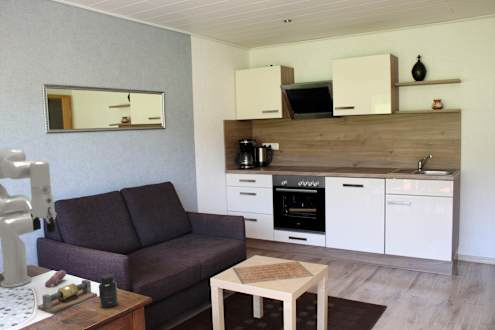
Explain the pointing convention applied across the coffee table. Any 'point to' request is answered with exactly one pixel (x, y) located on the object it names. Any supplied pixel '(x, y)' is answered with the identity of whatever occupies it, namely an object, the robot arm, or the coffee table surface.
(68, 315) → the coffee table surface
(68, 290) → the coupling sleeve
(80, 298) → the shaft bench
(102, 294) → the supplement bottle
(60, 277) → the dusty red lumpy block
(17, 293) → the coffee table surface
